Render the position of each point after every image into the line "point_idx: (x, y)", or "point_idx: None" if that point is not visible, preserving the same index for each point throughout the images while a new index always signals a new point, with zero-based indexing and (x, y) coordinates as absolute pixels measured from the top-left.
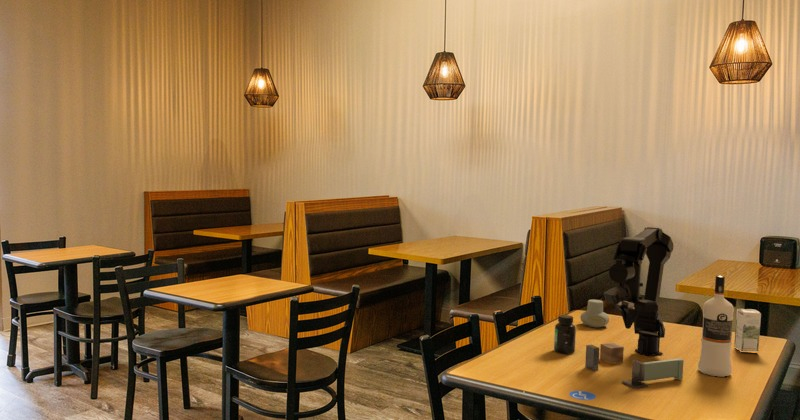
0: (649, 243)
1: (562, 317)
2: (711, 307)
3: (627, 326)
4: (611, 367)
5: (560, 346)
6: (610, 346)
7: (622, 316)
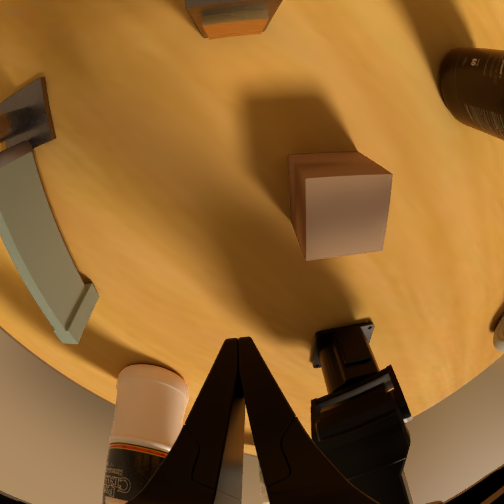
0: None
1: None
2: None
3: (219, 354)
4: (231, 123)
5: (469, 48)
6: (338, 198)
7: (294, 426)
